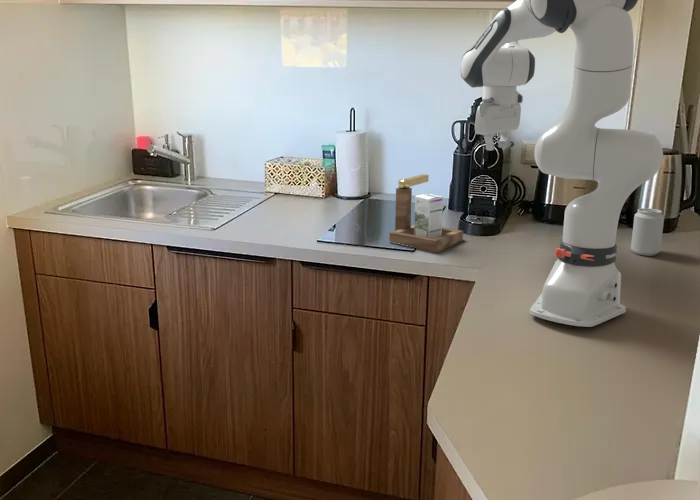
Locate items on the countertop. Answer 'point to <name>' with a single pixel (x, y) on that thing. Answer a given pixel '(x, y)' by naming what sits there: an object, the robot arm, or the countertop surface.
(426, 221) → the syrup box
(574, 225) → the robot arm
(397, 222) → the holder
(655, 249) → the can
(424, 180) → the bar
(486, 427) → the countertop surface
